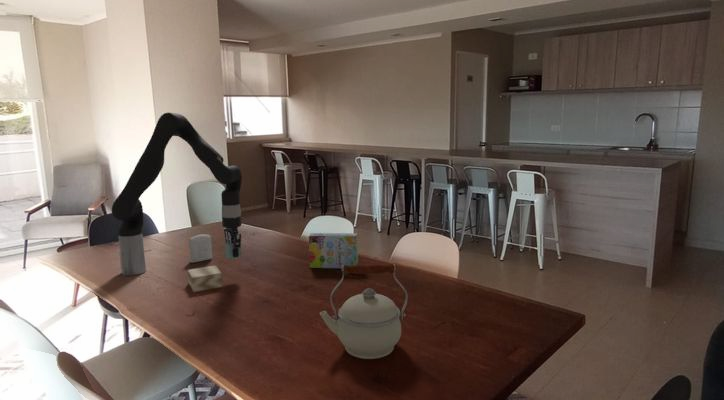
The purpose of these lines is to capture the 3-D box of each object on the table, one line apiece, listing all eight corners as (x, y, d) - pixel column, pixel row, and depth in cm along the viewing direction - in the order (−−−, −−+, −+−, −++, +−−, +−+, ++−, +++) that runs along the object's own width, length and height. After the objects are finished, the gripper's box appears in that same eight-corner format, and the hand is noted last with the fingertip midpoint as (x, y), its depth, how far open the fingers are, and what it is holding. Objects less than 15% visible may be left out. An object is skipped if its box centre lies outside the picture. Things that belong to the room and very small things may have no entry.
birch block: (193, 292, 177) (192, 277, 176) (188, 283, 186) (187, 269, 185) (222, 287, 182) (221, 272, 181) (216, 279, 192) (215, 265, 191)
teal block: (229, 259, 187) (228, 244, 186) (225, 256, 191) (224, 242, 190) (241, 257, 190) (240, 243, 189) (237, 254, 194) (236, 240, 193)
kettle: (403, 331, 142) (403, 254, 138) (411, 362, 124) (412, 274, 119) (322, 333, 141) (320, 255, 137) (318, 365, 123) (316, 276, 119)
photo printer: (209, 257, 222) (208, 232, 220) (214, 258, 219) (212, 233, 217) (189, 261, 215) (187, 236, 213) (193, 263, 212) (191, 237, 210)
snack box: (358, 265, 207) (357, 232, 204) (356, 269, 202) (356, 235, 199) (312, 264, 209) (311, 232, 207) (309, 268, 204) (308, 235, 201)
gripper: (216, 213, 191) (218, 252, 194) (228, 219, 179) (230, 261, 182) (234, 211, 195) (236, 249, 198) (246, 216, 183) (248, 257, 186)
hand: (233, 255), depth 190 cm, fingers closed on teal block, 5 cm apart
